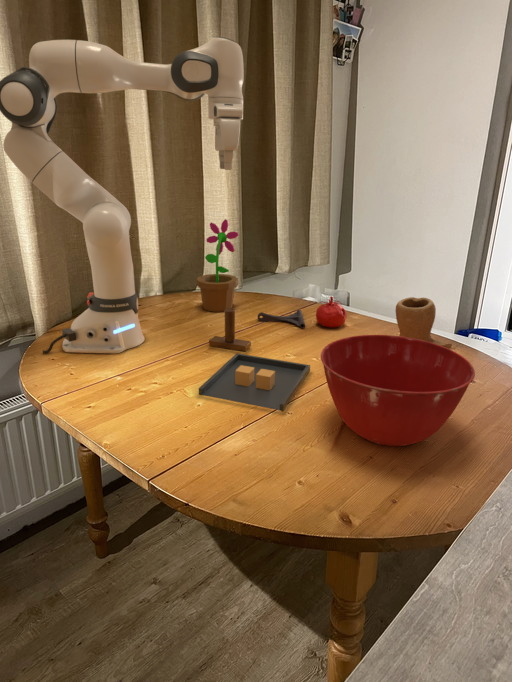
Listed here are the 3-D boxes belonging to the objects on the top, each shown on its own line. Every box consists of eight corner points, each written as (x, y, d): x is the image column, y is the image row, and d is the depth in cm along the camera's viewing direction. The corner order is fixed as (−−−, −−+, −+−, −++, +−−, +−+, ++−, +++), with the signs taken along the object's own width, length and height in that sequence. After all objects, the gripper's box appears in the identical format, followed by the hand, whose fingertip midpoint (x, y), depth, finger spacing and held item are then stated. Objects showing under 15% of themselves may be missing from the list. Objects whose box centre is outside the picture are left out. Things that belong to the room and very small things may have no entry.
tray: (236, 361, 132) (236, 353, 131) (309, 373, 126) (310, 365, 125) (198, 397, 113) (198, 388, 112) (282, 414, 106) (283, 404, 106)
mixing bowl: (335, 386, 119) (340, 325, 113) (463, 410, 109) (475, 344, 103) (298, 448, 95) (302, 374, 89) (459, 486, 84) (474, 405, 79)
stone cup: (382, 349, 141) (388, 298, 135) (401, 338, 149) (407, 290, 144) (434, 364, 132) (443, 310, 126) (451, 351, 140) (460, 300, 134)
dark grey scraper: (257, 313, 169) (257, 305, 168) (301, 314, 169) (301, 306, 168) (257, 328, 156) (257, 320, 155) (305, 328, 156) (305, 320, 155)
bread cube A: (260, 381, 119) (261, 368, 118) (274, 384, 118) (275, 370, 117) (255, 388, 116) (255, 374, 115) (269, 390, 115) (270, 376, 113)
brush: (209, 348, 140) (208, 309, 136) (215, 343, 143) (214, 305, 139) (245, 354, 136) (245, 314, 132) (250, 349, 140) (251, 310, 136)
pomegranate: (321, 331, 154) (322, 302, 151) (310, 321, 163) (311, 293, 160) (350, 329, 156) (353, 300, 153) (338, 319, 165) (340, 291, 162)
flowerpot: (244, 304, 179) (245, 219, 168) (226, 315, 167) (225, 224, 156) (209, 299, 184) (207, 216, 173) (189, 310, 172) (186, 221, 161)
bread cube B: (240, 378, 121) (240, 365, 119) (254, 380, 120) (254, 367, 118) (235, 384, 118) (235, 370, 116) (248, 386, 116) (249, 373, 115)
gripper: (209, 114, 136) (209, 168, 141) (217, 107, 117) (217, 170, 122) (232, 115, 137) (231, 168, 142) (244, 109, 118) (243, 170, 123)
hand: (225, 169), depth 132 cm, fingers open, 8 cm apart
